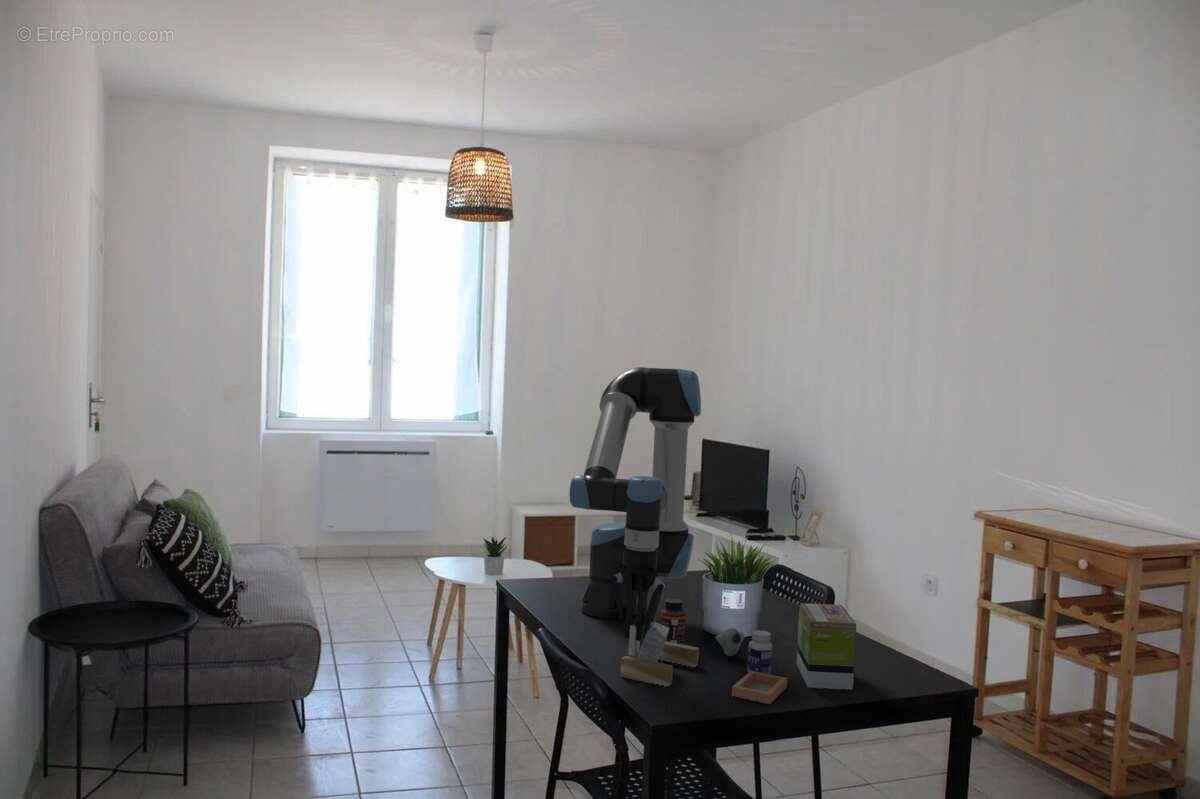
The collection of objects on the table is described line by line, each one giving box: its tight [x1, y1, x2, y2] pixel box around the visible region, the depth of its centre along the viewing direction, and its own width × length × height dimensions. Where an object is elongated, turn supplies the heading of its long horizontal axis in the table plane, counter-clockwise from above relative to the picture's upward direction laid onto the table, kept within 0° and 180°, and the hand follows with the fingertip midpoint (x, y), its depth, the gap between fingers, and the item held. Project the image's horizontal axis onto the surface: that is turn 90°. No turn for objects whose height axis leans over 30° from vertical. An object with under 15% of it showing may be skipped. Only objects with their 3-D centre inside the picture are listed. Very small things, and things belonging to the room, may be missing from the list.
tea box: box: [796, 602, 857, 691], centre depth 220 cm, size 15×10×15 cm, turn 178°
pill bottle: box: [746, 630, 774, 675], centre depth 221 cm, size 5×5×9 cm
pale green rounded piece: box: [714, 627, 746, 657], centre depth 231 cm, size 8×4×7 cm, turn 121°
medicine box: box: [636, 621, 670, 663], centre depth 220 cm, size 8×4×9 cm, turn 171°
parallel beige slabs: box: [620, 642, 700, 687], centre depth 219 cm, size 17×11×4 cm, turn 153°
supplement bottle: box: [659, 598, 687, 645], centre depth 236 cm, size 6×6×11 cm
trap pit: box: [731, 671, 788, 705], centre depth 209 cm, size 12×8×2 cm, turn 153°
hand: (633, 653), depth 221 cm, fingers closed
